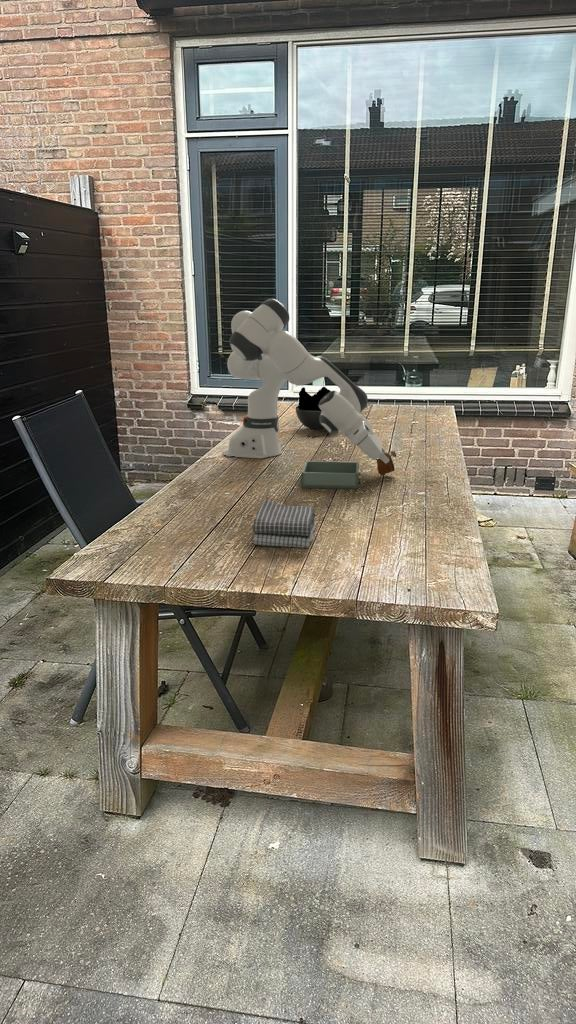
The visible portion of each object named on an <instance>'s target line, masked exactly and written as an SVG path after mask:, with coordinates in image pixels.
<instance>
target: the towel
mask: <svg viewBox="0 0 576 1024" xmlns="http://www.w3.org/2000/svg"><path fill="white" fill-rule="evenodd" d="M315 511H316V510H315V506H310V505H309V506H306V505H282V504H279V503H277V502H275V501H272V500H270V499H267V498H266V499H264V500H262V504H261V505H260V508H259V509H258V510H257V514H256V516H255V518H254V519H253V526H252V532H253V533H254V534H253V539H252V542H253V543H252V544H253V545H255V546H257V545H258V546H263V547H264V546H265V547H266V546H267V547H284V548H311V546H310V545H311V543H312V541H313V539H314V531H315V526H316V521H315V518H316V514H315Z"/></svg>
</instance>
